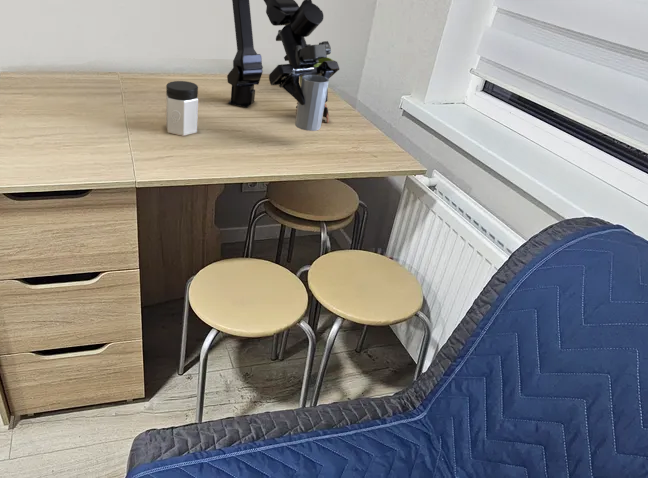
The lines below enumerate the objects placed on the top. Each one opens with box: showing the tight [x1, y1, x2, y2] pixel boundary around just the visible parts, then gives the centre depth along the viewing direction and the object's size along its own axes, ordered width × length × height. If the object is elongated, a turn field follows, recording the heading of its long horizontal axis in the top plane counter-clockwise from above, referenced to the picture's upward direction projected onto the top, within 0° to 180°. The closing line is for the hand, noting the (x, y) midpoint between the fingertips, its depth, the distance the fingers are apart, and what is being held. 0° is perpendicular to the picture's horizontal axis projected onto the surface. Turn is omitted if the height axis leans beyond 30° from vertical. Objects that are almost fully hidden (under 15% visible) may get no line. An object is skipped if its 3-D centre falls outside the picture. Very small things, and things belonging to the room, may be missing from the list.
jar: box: [165, 80, 199, 137], centre depth 137 cm, size 9×8×12 cm
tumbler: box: [294, 74, 330, 132], centre depth 133 cm, size 7×7×12 cm
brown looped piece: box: [295, 101, 330, 123], centre depth 155 cm, size 12×10×8 cm
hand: (314, 103), depth 132 cm, fingers closed on tumbler, 7 cm apart
